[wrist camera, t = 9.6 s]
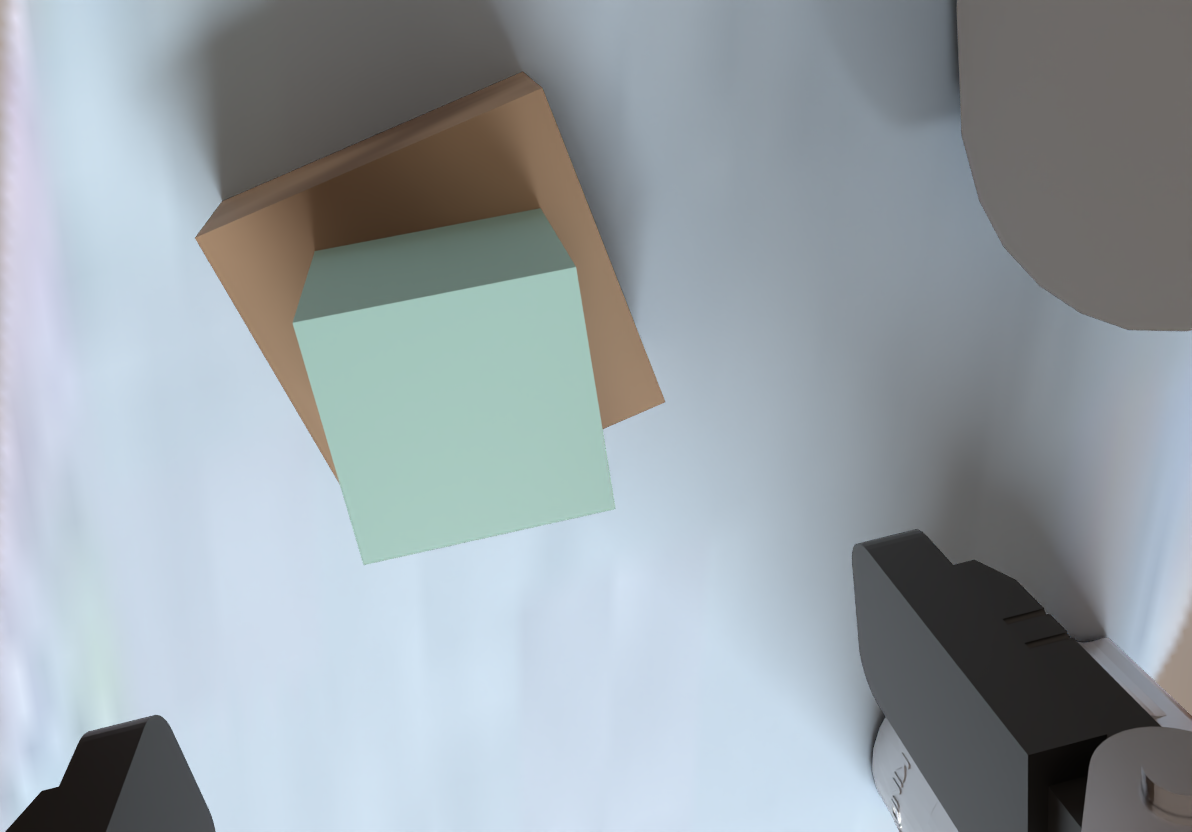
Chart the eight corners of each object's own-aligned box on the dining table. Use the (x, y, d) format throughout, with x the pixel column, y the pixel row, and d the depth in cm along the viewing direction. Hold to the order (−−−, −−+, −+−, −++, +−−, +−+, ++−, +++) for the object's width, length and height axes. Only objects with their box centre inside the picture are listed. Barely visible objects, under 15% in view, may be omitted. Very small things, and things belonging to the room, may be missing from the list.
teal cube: (540, 208, 22) (576, 266, 18) (575, 410, 24) (615, 509, 20) (314, 251, 22) (292, 322, 17) (370, 453, 24) (363, 564, 19)
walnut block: (521, 70, 25) (542, 87, 21) (631, 346, 28) (665, 402, 25) (223, 198, 25) (195, 237, 21) (371, 459, 28) (367, 531, 25)
